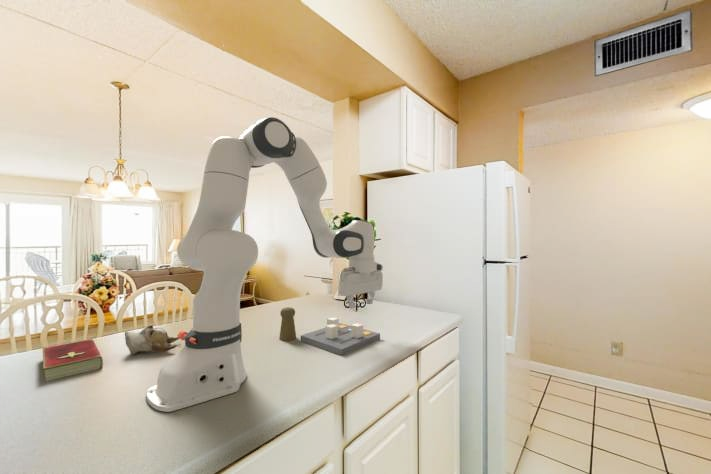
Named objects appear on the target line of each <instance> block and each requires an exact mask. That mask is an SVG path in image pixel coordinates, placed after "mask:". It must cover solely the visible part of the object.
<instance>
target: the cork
mask: <svg viewBox="0 0 711 474" xmlns="http://www.w3.org/2000/svg"><path fill="white" fill-rule="evenodd" d="M279 314H280V317H281V323H280V331H279V340H280V341H283V342H291V341H294V340H296V339H297V333H296V326H295V318H294V317H295V315H296V310H295V308H294V307H284V308H281V310H280V313H279Z"/></svg>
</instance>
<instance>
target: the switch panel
mask: <svg viewBox="0 0 711 474" xmlns="http://www.w3.org/2000/svg"><path fill="white" fill-rule="evenodd" d="M379 340H381V333H379V332H375V331H372V330H367V329H364V328H363V337H360V338H354V337H351V325H348V324H346V323H341V322H340V323H339V322H338V337H337V338H334V339H329V338H325V327H324V328H320V329H317V330H314V331H310V332H308V333H304V334H302V335H300V342H302V343H304V344H307V345H311V346H313V347H315V348H319V349H322V350H325V351H328V352H330V353H333V354H336V355H340V356H345V355H347V354H349V353H351V352H354V351H355V350H358V349H360V348H363V347H365V346H367V345H370V344H372V343H375V342H377V341H379Z"/></svg>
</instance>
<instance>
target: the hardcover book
mask: <svg viewBox="0 0 711 474" xmlns="http://www.w3.org/2000/svg"><path fill="white" fill-rule="evenodd" d="M103 364H104V361H103V357H102V355H101V352H100V350H99V349H98V347H97V345H96V343H95V340H94V339H93V338H89V339H83V340H77V341H72V342H67V343H62V344H57V345H51V346H45V347H42V369H43V370H42V371H44V375H45V376H44V377H45V379H44V380H45V382H49V381H52V380H57V379H60V378H65V377H69V376H73V375H77V374H82V373H86V372H89V371H94V370H98V369H103V366H104V365H103Z"/></svg>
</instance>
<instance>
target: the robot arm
mask: <svg viewBox="0 0 711 474" xmlns="http://www.w3.org/2000/svg"><path fill="white" fill-rule="evenodd" d="M205 162H206V163H205V167H204V171H203V178H202V185H201V189H200V190H201V191H200V194H199V195H200V196H199V200H198V206H197V208H196V211H195V214H194V216H193V218H192V221H191V222H190V225H189V228H188V230H187V232H186V233H185V234H184V236H183V237H182V238H181V239H179V241H178V244H177V247H176V253H177V257H178V259H179V261H180V262H181V263H182V264H184V265H185V266H187V267H189V268H190V269H192V270H194V271H198V272H203V275H202V280H201V284H200V287H199V290H198V291H197V292H196V293H195V294H194V296H193V298H192V328H191V329H190V330H189V332H186V331H185V330H181V331H179V332H178V333H177V337H178V338H179V339H178V340H180V341H184V346H183V347H181V348H180V349H179V351H177V352H176V353H175V354H174V355H172V357H171V358H169V360H167V361H166V362H165V363H164V364H163V365H162V366H161V367H160V369H159V373H158V376H157V382H156V384H155V385H153V386H152V385H151V386H150V387H149V388H148V389H147V390H146V392H145V400H146V402H147V403H148V404H149V406H151V408H153V409H154V410H157V411H160V412H163V413H164V412H165V413H166V412H167V413H169V412H174V411H177V410H181V409H185V408H188V407H191V406H194V405H198V404H201V403H204V402H207V401H211V400H215V399H216V398H221V397H224V396H227V395H231V394H234V393H236V392H238V391H239V390H240V387H241V385H242V384H243V382H245V380H246V379H247V375H248V374H247V372H246V369H245V365H244V360H243V354H242V345H241V344H242V338H243V336H242V335H243V334H242V333H243V331H242V323H241V320H240V319H241V318H240V316H241V314H240V313H241V309H240V308H241V304H240V303H241V294H242V289H243V284H244V280H246V279H245V278H246V276H247V274H248V273H249V271H250V270H251V269H252V268H253V267H254V266H255V264H256V262H257V260H258V258H259V247H258V245H257V242H256V240H255V239H254V238H253V236H251V235H249V234H247V233H244V232H242V231H238V230H235V229H233V228H234V226H235V224H236V222H237V221H238V219H239V217H240V216H242V214H243V213H244V212H245V210H246V205H247V204H246V203H247V196H248V189H249V188H248V187H249V182H250V172H251V169H255V168H256V169H258V168H262V167H264V166H266V165H268V164H269V165H270V164H272V163H275V164H276V165H277V166H279V168H280V169H281V170H282V171H283V173H284V175H285V177H286V179H287V181H288V183H289V185H290V187H291V189H292V191H293V192H294V195H295V196H296V199H297V202H298V206H299V208H300V211H301V213H302V216H303V219H305V222H306V225H307V226H308V227H307V228H308V229H309V231H310V234H311V238H312V246H313V249H314V251H315V252H316V254H317V255H318V256H320V257H322V258H337V259H338V258H339V259H347V258H348V259H349V260H348V264H349V265H348V267H344V268H343V269H342V270H341V272H340V276H339V280H338V290H337V291H338V294H339V296H341V297H346V300H347V301H348V308H349V309H355V308H356V302H354V297H355V296H356V295H361V294H368V296H367V298H366V304H367V305H372V304H373V301H374V297H375V295H376V292H378V291H381V290H382V288H383V282H384V281H383V272H382V271H383V269H384V266H383V264H381V263H379V262H376V261H375V254H374V248H375V232H374V231H375V229H374V226H373V224H372V223H371V222H369V221H367V220H362V219H361V220H360V219H354V220H352V221H351V222H350V223H348V224H347V225H346V226H343V227H342V228H341V227H340V228H339V229H333V228H330V227H329V226H328V224H327V221H326V219H325V217H324V214H323V212H322V209H321V207H320V206H321V205H320V202H321V198H322V197H323V195H324V194H325V192H326V189H327V185H328V182H327V178H326V175H325V173H324V170H323V168H322V166H321V164H320V162H319V161H318V159H317V157H316V155H315V153H314V152H313V150H312V149H311V147H310V146H309V144H308V143H307V142H306V141H305V139H303V138H302V137H300V136H299V137H298V136H296V135H295V134H294V133H293V132H292V131H291V129H290V127H289V126H288V125H287V124H286V123H285V122H284V121H282V120H281V119H279V118H277V117H270V116H269V117H265V118H262V119H259V120H258V121H257V122H256V123H254V124H252V125H251V126H249V127H247V128H246V130H245V131H244V132H242V134H240V135H239V136H238V137H237V138H236V137H233V136H220V137H218V138H216V139H215V140H214V141H213V142H212V144H211V147H210V149H209V152H208V155H207V158H206V161H205Z"/></svg>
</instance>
